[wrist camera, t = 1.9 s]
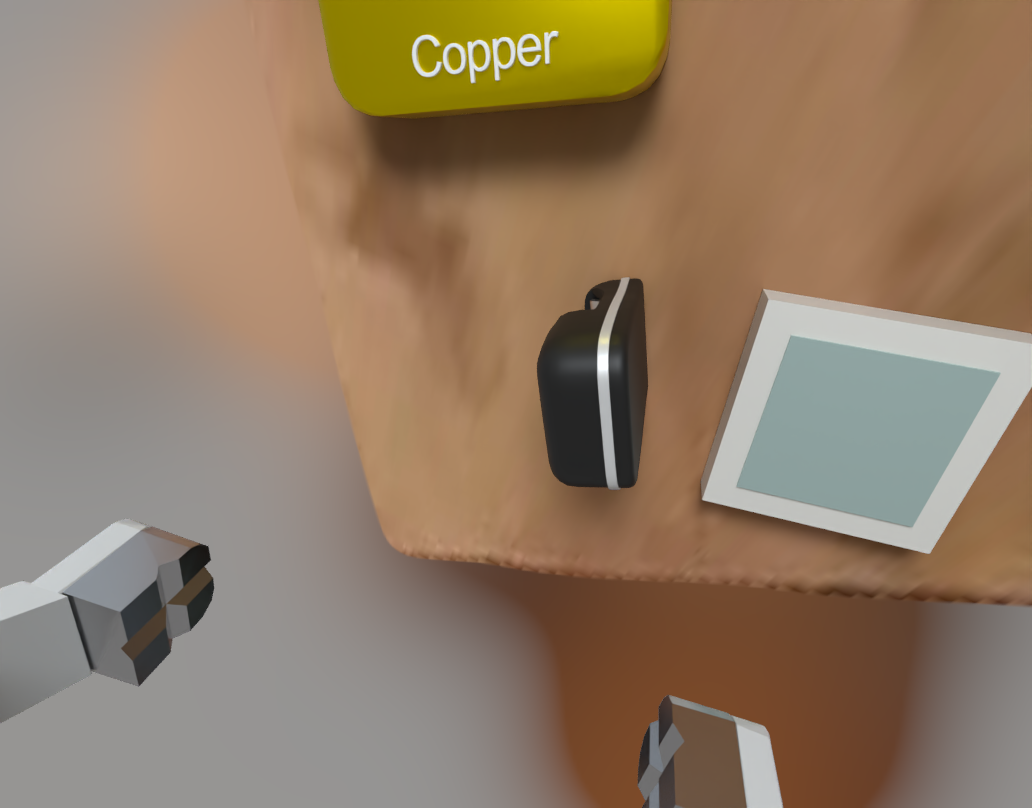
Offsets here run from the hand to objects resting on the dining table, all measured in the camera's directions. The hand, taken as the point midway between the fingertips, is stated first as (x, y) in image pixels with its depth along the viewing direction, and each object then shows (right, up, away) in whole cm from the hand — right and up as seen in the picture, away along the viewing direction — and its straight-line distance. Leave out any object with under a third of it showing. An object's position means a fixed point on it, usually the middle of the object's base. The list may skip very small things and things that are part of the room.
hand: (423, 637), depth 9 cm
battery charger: (+7, +8, +22) cm, 24 cm away
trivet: (+19, +3, +20) cm, 28 cm away
